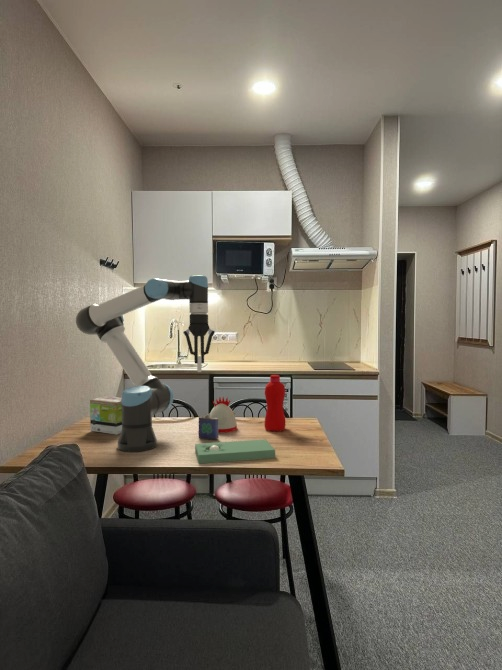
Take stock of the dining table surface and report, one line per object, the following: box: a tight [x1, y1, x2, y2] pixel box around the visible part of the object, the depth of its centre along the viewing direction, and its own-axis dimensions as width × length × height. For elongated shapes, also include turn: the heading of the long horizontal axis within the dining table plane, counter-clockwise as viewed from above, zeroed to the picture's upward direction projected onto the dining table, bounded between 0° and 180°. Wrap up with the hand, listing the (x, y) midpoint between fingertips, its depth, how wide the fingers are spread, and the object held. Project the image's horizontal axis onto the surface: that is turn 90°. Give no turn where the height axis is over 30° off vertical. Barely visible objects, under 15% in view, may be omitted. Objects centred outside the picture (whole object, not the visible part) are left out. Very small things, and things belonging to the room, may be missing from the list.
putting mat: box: [194, 438, 276, 464], centre depth 166 cm, size 28×14×3 cm, turn 102°
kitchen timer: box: [209, 396, 238, 434], centre depth 204 cm, size 14×14×15 cm
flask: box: [198, 413, 219, 441], centre depth 188 cm, size 9×3×11 cm, turn 68°
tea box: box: [89, 395, 122, 436], centre depth 201 cm, size 15×10×15 cm, turn 68°
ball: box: [209, 445, 219, 451], centre depth 164 cm, size 4×4×4 cm
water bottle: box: [264, 374, 286, 432], centre depth 203 cm, size 9×11×25 cm
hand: (199, 371), depth 181 cm, fingers closed
